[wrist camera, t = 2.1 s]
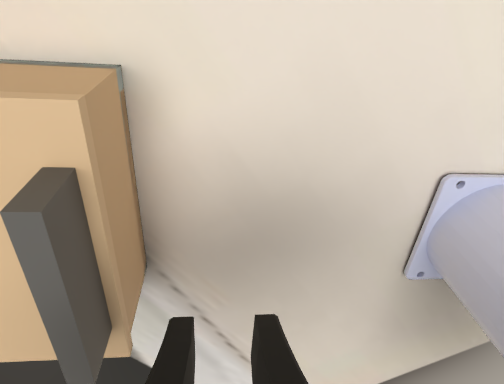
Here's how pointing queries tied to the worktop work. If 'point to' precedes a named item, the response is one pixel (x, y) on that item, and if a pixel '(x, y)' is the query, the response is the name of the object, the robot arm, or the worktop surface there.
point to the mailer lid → (56, 240)
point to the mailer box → (98, 151)
